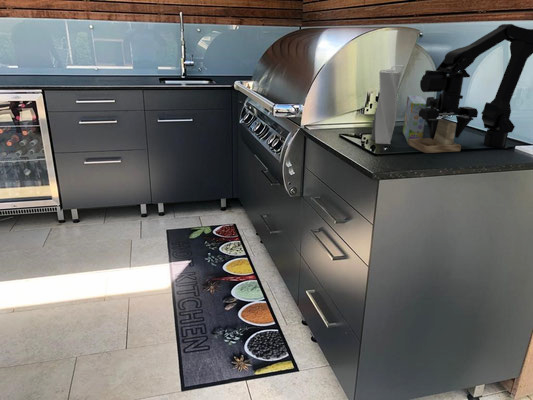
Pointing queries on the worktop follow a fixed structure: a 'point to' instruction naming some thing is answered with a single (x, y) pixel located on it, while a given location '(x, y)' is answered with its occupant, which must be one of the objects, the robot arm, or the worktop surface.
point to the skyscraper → (386, 106)
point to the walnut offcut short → (426, 143)
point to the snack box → (414, 118)
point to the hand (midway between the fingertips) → (444, 138)
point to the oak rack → (436, 148)
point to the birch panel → (445, 132)
